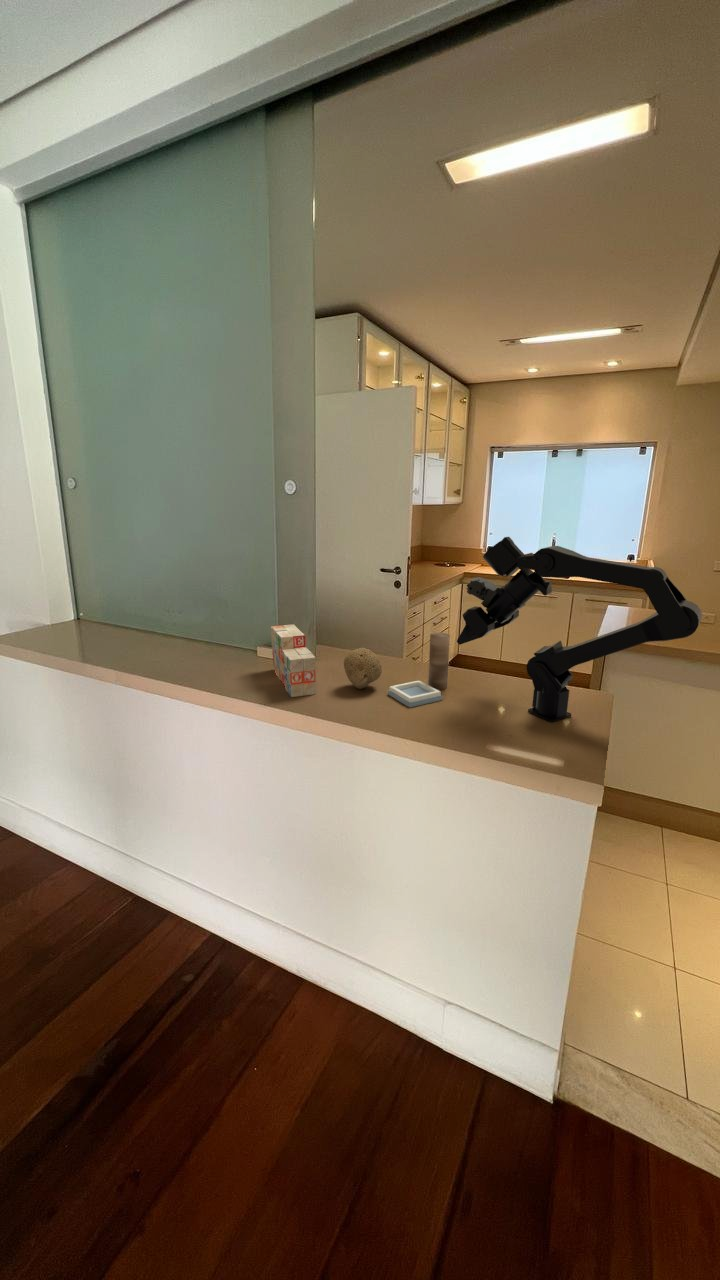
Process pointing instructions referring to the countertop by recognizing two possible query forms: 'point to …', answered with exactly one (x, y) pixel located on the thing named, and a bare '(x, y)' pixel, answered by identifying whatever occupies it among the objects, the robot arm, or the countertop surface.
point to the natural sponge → (362, 667)
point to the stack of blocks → (293, 660)
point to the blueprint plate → (414, 693)
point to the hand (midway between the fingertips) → (467, 638)
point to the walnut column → (439, 660)
